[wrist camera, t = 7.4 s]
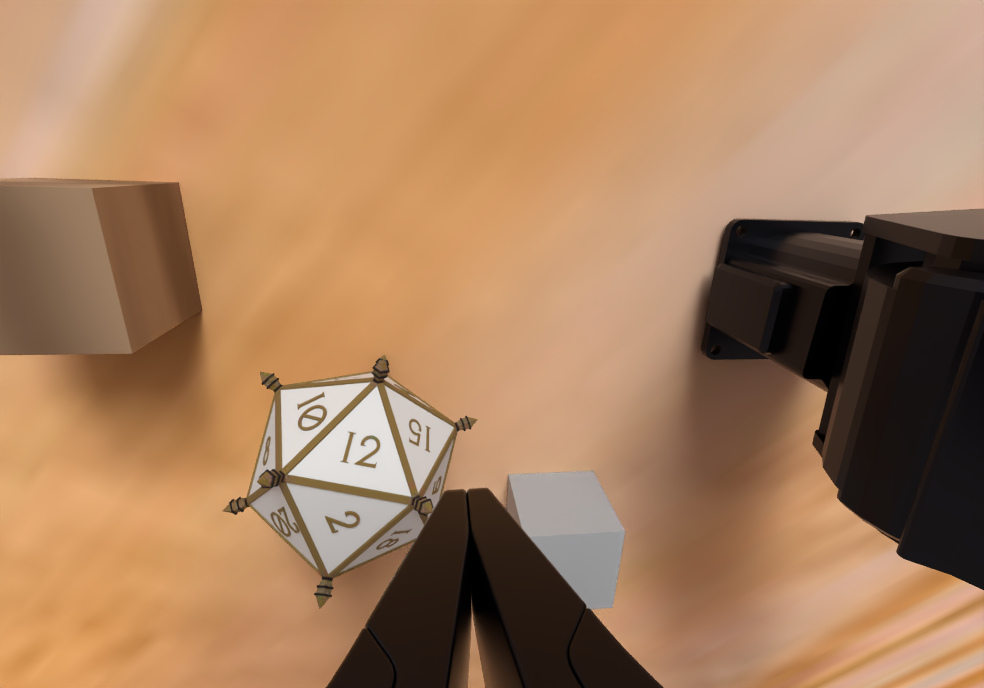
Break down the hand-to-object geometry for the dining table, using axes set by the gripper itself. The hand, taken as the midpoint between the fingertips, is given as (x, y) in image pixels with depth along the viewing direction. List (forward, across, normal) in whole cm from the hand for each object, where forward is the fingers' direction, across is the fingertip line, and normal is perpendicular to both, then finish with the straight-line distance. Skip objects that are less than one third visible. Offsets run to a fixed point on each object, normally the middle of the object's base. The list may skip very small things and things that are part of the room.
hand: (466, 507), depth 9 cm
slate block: (+13, -5, +11) cm, 18 cm away
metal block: (+13, +13, -3) cm, 18 cm away
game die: (+13, +4, +5) cm, 14 cm away
